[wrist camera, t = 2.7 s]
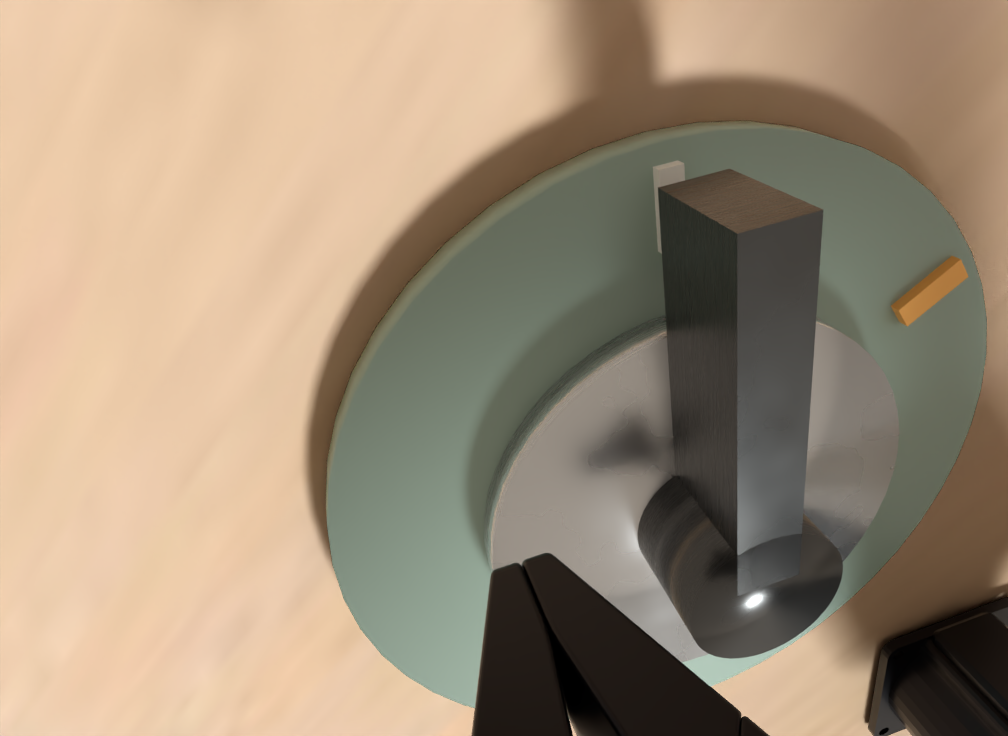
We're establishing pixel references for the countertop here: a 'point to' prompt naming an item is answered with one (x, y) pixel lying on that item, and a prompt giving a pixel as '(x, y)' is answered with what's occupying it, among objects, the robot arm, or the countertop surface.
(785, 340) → the dial
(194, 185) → the countertop surface
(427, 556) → the dial plate
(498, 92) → the countertop surface
